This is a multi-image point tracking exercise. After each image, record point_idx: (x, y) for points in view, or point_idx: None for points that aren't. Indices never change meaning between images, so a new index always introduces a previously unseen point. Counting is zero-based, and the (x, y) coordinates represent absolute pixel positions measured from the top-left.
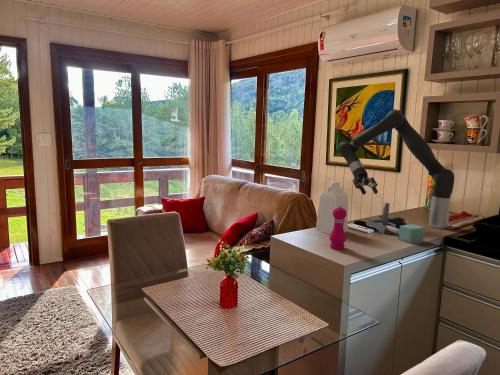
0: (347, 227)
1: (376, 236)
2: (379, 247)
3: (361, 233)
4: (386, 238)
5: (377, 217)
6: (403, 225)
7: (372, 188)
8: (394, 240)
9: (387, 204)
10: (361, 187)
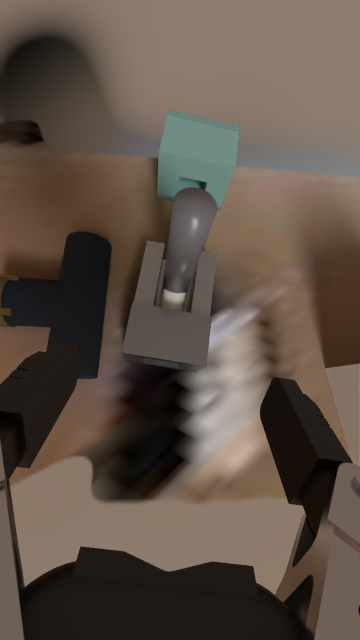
0: (339, 366)
1: (262, 268)
2: (338, 205)
3: (287, 320)
4: (248, 237)
5: (133, 346)
6: (218, 162)
7: (7, 471)
8: (241, 213)
9: (205, 195)
10: (351, 478)
